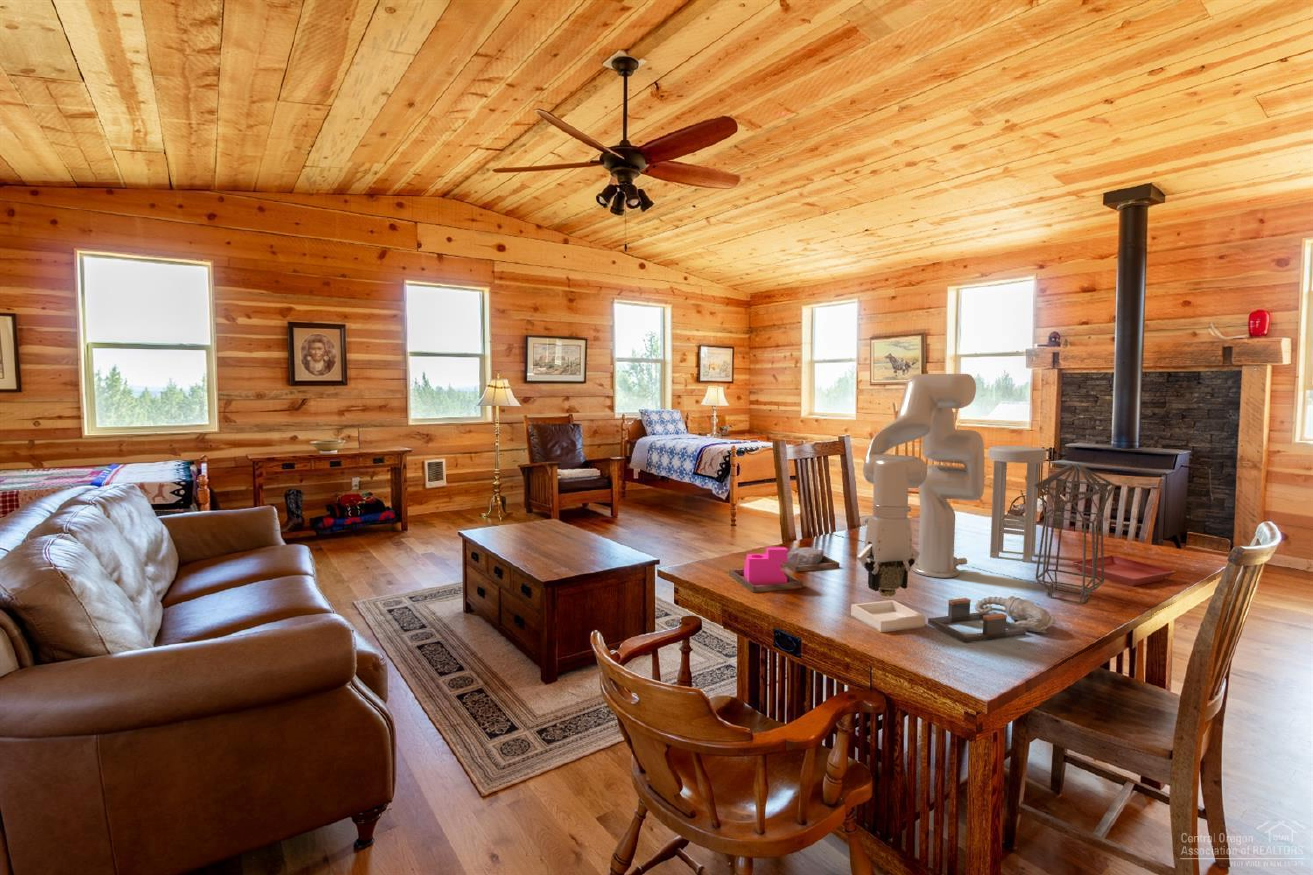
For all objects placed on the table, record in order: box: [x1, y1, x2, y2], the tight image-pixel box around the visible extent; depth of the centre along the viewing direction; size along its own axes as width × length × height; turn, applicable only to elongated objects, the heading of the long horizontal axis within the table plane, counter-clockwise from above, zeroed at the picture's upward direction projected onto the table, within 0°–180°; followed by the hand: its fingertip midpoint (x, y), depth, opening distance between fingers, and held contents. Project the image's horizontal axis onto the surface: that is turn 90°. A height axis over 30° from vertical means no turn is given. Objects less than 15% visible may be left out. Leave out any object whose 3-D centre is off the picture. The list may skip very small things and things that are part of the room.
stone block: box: [787, 546, 825, 566], centre depth 200 cm, size 12×5×10 cm
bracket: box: [743, 546, 789, 586], centre depth 181 cm, size 12×10×10 cm
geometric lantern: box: [1034, 463, 1116, 604], centre depth 166 cm, size 16×16×35 cm
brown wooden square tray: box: [728, 568, 804, 593], centre depth 181 cm, size 15×17×2 cm
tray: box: [850, 599, 926, 633], centre depth 150 cm, size 12×12×2 cm
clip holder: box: [927, 597, 1027, 644], centre depth 145 cm, size 16×12×5 cm
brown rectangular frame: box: [781, 550, 840, 572], centre depth 200 cm, size 15×17×2 cm
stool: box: [988, 445, 1047, 564], centre depth 206 cm, size 16×16×35 cm
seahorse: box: [974, 595, 1056, 634], centre depth 151 cm, size 5×12×20 cm
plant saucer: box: [1071, 555, 1176, 587], centre depth 186 cm, size 18×18×3 cm
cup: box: [872, 561, 906, 598], centre depth 150 cm, size 8×7×8 cm
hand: (887, 587), depth 150 cm, fingers closed on cup, 6 cm apart
